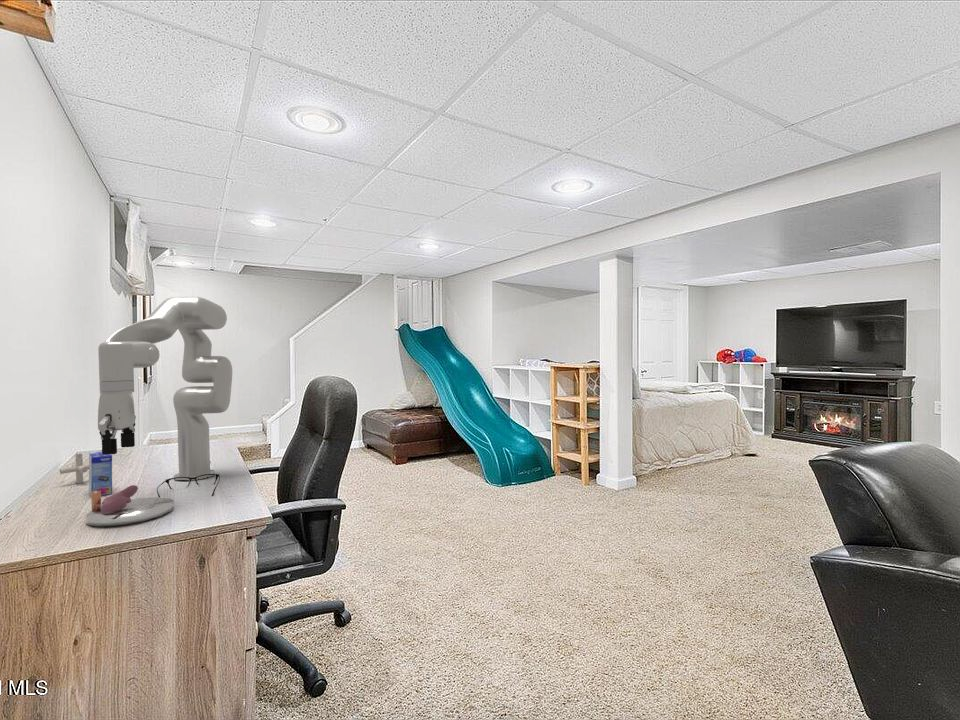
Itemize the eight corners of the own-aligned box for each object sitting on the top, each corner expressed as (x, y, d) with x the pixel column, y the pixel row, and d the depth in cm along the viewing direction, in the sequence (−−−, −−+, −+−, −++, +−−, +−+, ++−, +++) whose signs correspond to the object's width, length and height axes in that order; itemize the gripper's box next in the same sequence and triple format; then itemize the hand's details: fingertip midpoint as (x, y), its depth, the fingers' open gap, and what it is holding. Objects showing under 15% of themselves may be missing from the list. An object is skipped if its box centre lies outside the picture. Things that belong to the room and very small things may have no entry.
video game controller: (141, 499, 135) (111, 504, 133) (138, 483, 135) (108, 488, 133) (128, 513, 126) (96, 519, 124) (125, 496, 125) (92, 502, 123)
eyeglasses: (222, 484, 162) (221, 472, 162) (218, 497, 147) (218, 483, 147) (163, 490, 155) (163, 478, 155) (153, 505, 141) (153, 491, 141)
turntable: (111, 505, 138) (110, 482, 138) (185, 500, 142) (184, 478, 141) (68, 529, 119) (67, 502, 119) (154, 522, 123) (153, 497, 123)
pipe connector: (92, 477, 172) (91, 449, 172) (103, 481, 166) (102, 452, 166) (56, 484, 164) (55, 454, 164) (65, 488, 158) (64, 457, 158)
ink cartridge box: (113, 494, 151) (112, 447, 151) (91, 497, 147) (89, 450, 147) (110, 487, 158) (109, 443, 158) (88, 491, 155) (87, 445, 154)
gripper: (117, 385, 139) (119, 445, 140) (82, 390, 123) (84, 458, 123) (147, 384, 141) (148, 443, 141) (116, 389, 124) (118, 456, 125)
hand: (119, 450), depth 132 cm, fingers open, 9 cm apart
